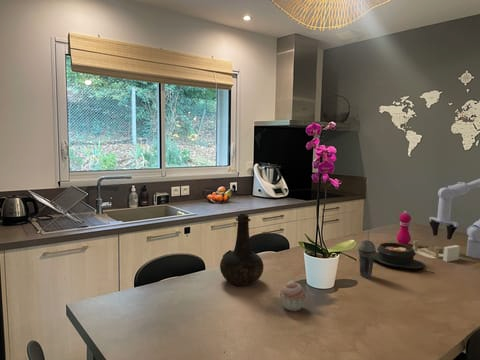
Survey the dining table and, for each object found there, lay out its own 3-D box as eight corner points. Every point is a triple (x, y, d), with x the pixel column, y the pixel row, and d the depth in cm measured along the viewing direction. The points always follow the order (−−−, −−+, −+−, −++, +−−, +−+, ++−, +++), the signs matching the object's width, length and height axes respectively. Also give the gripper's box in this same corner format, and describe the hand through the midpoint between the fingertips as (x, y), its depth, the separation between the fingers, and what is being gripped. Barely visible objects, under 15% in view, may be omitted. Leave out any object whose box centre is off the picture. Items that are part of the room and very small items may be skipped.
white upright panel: (442, 261, 178) (444, 247, 178) (454, 258, 182) (455, 245, 182) (446, 262, 177) (447, 248, 176) (458, 260, 181) (459, 246, 180)
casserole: (361, 261, 178) (362, 244, 177) (378, 253, 191) (379, 237, 190) (415, 276, 160) (416, 257, 159) (429, 266, 173) (431, 248, 172)
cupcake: (311, 310, 126) (313, 282, 125) (290, 316, 122) (291, 287, 121) (294, 299, 134) (295, 273, 133) (273, 304, 130) (274, 277, 129)
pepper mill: (411, 248, 200) (414, 212, 198) (397, 247, 202) (400, 211, 200) (408, 244, 208) (410, 210, 205) (394, 243, 209) (397, 209, 207)
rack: (426, 249, 200) (427, 238, 199) (451, 256, 188) (452, 245, 187) (407, 252, 193) (408, 241, 193) (431, 260, 181) (432, 248, 180)
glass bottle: (234, 270, 163) (235, 208, 159) (270, 279, 153) (272, 213, 150) (210, 284, 147) (211, 215, 144) (249, 294, 138) (251, 221, 135)
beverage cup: (355, 277, 158) (357, 231, 155) (358, 271, 164) (360, 227, 162) (373, 280, 154) (375, 233, 152) (375, 274, 161) (378, 230, 158)
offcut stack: (432, 249, 196) (432, 245, 196) (442, 252, 191) (443, 248, 190) (426, 250, 194) (427, 246, 194) (437, 253, 189) (437, 249, 188)
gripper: (426, 209, 192) (424, 234, 194) (452, 214, 179) (450, 241, 181) (435, 208, 195) (433, 233, 197) (462, 213, 182) (459, 240, 184)
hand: (442, 237), depth 189 cm, fingers open, 7 cm apart
